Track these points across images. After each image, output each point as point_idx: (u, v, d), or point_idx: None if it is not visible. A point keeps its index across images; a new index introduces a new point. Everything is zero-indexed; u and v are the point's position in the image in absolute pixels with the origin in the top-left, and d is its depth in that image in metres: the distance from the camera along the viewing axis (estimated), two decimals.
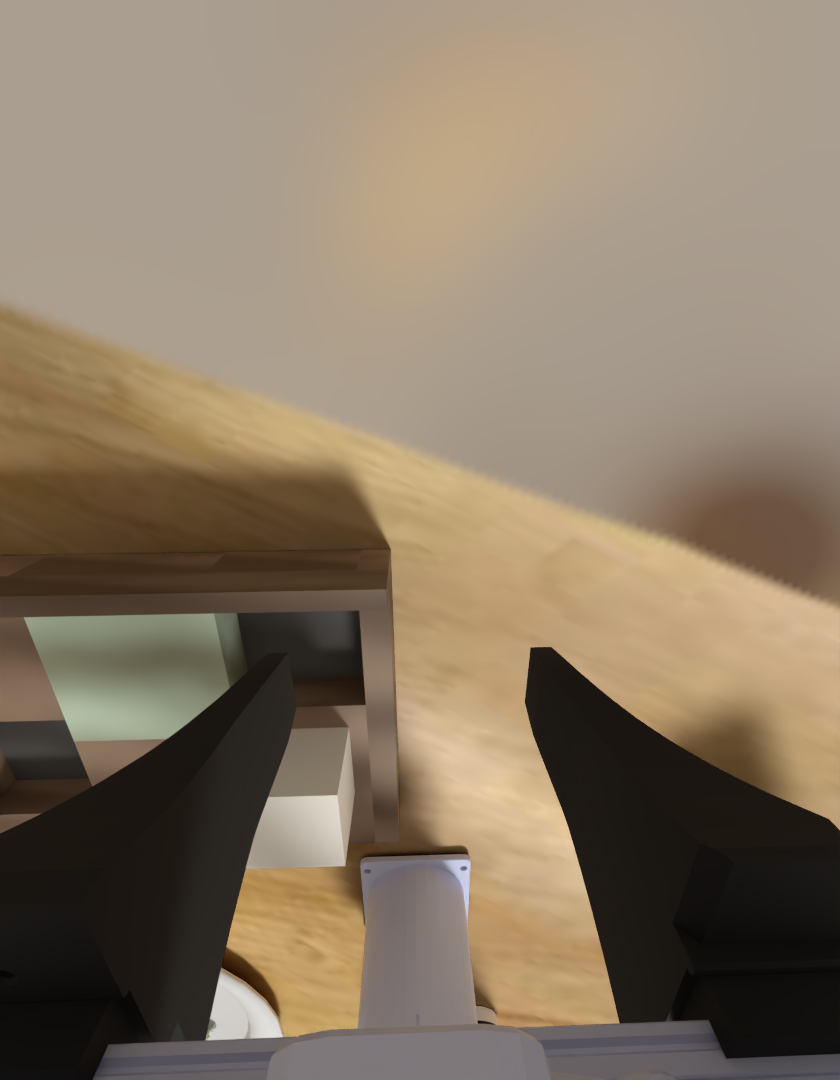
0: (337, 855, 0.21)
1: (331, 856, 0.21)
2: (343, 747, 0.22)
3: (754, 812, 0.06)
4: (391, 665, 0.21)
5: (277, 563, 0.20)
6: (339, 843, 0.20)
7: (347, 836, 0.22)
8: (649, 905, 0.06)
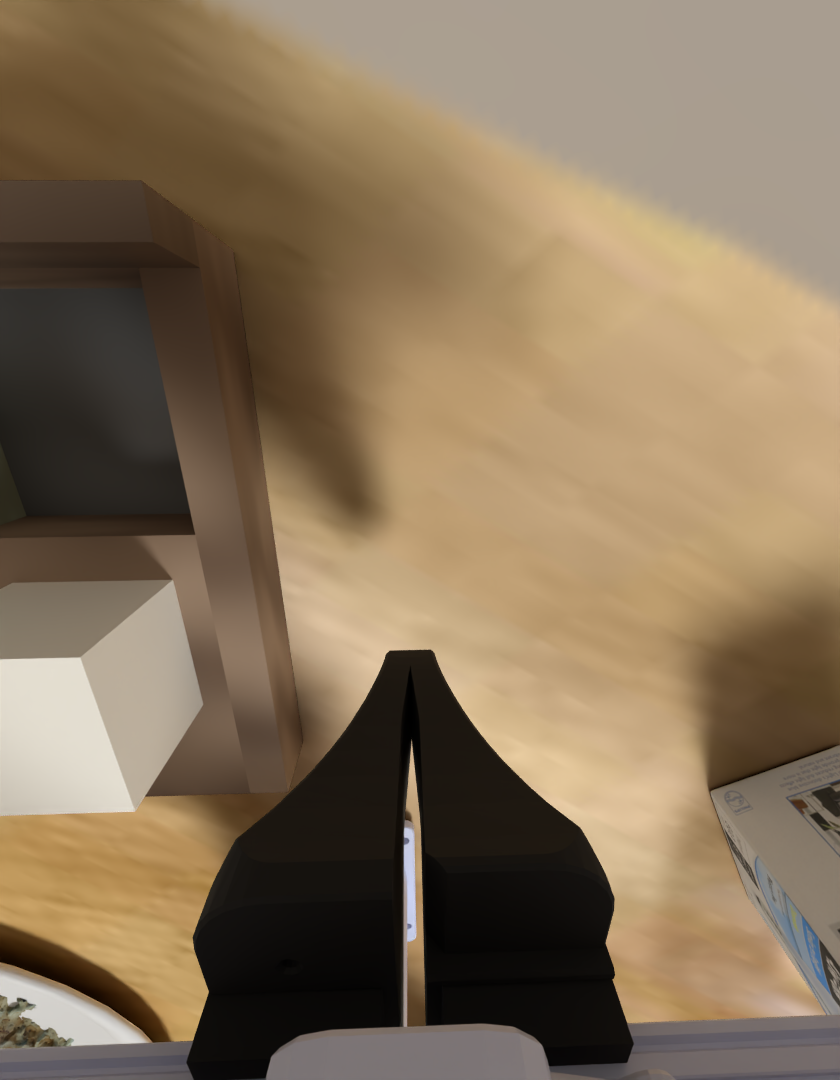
0: (114, 789, 0.11)
1: (103, 791, 0.11)
2: (144, 600, 0.12)
3: (512, 818, 0.06)
4: (230, 451, 0.12)
5: None
6: (111, 764, 0.11)
7: (153, 762, 0.12)
8: None
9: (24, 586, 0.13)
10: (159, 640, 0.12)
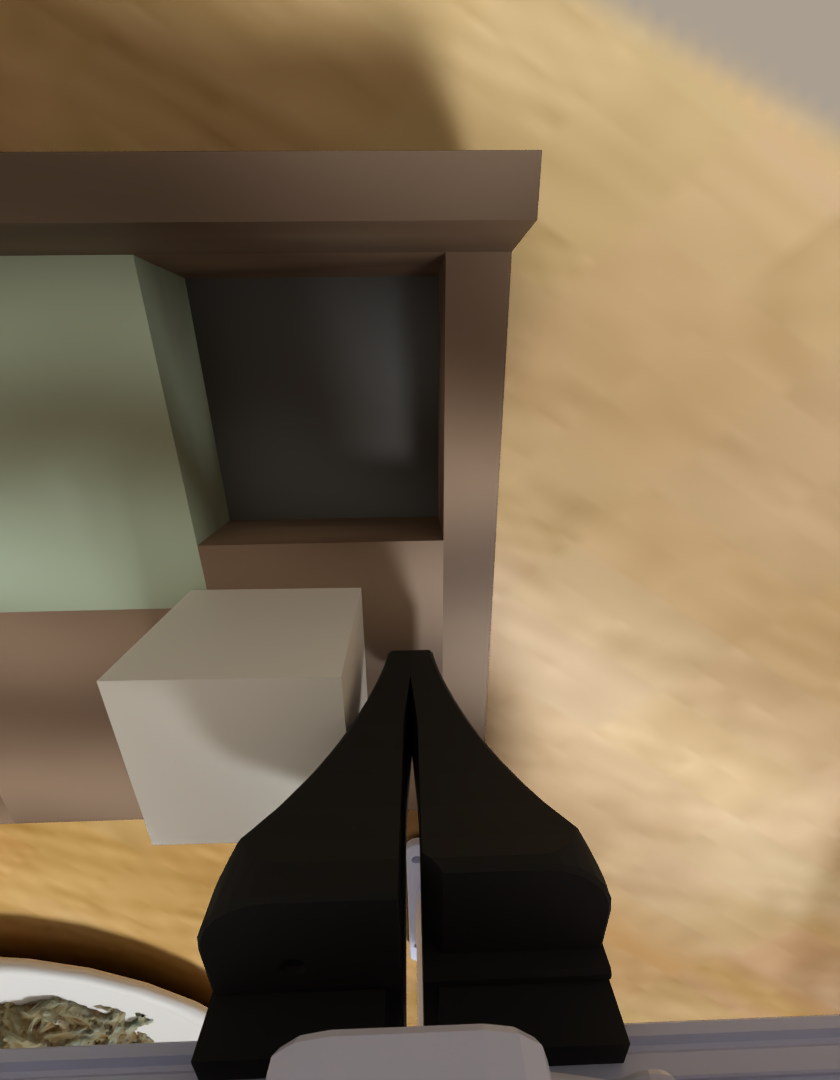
0: None
1: None
2: (351, 611, 0.11)
3: (509, 818, 0.06)
4: (498, 451, 0.11)
5: None
6: None
7: None
8: None
9: (207, 594, 0.12)
10: (358, 653, 0.12)
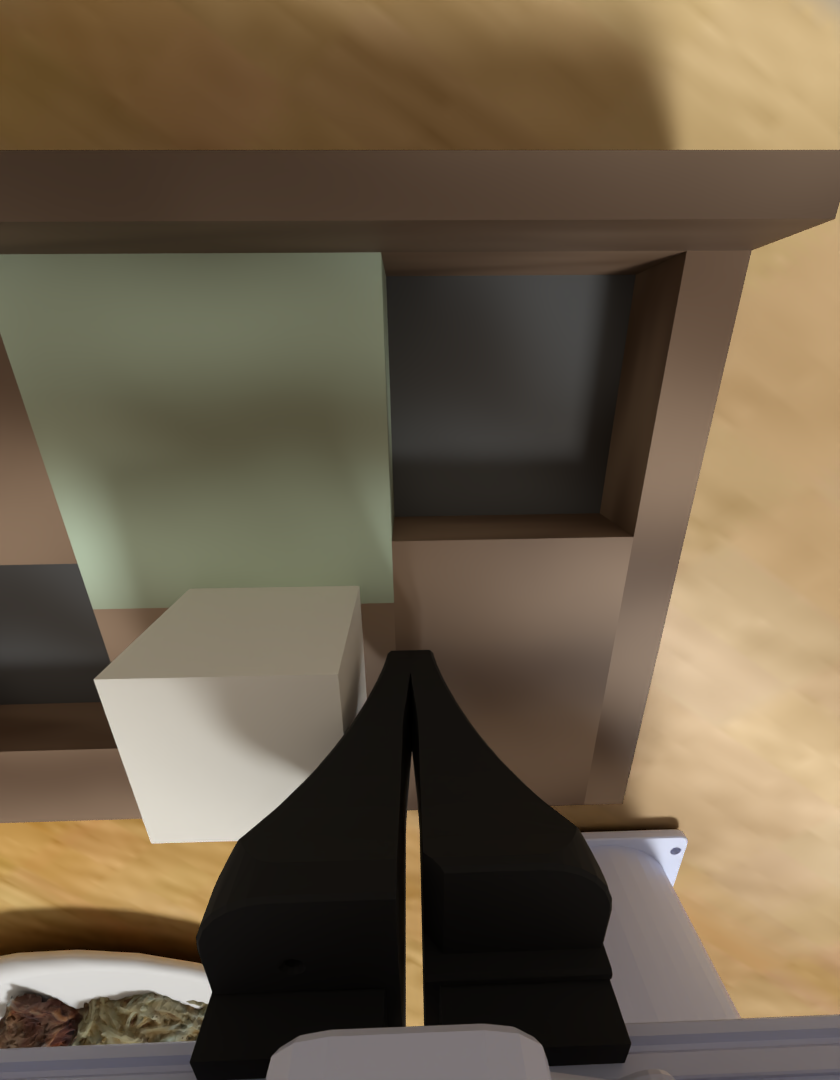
0: None
1: None
2: (349, 609, 0.11)
3: (510, 818, 0.06)
4: (701, 448, 0.11)
5: None
6: None
7: None
8: None
9: (205, 592, 0.12)
10: (356, 651, 0.12)
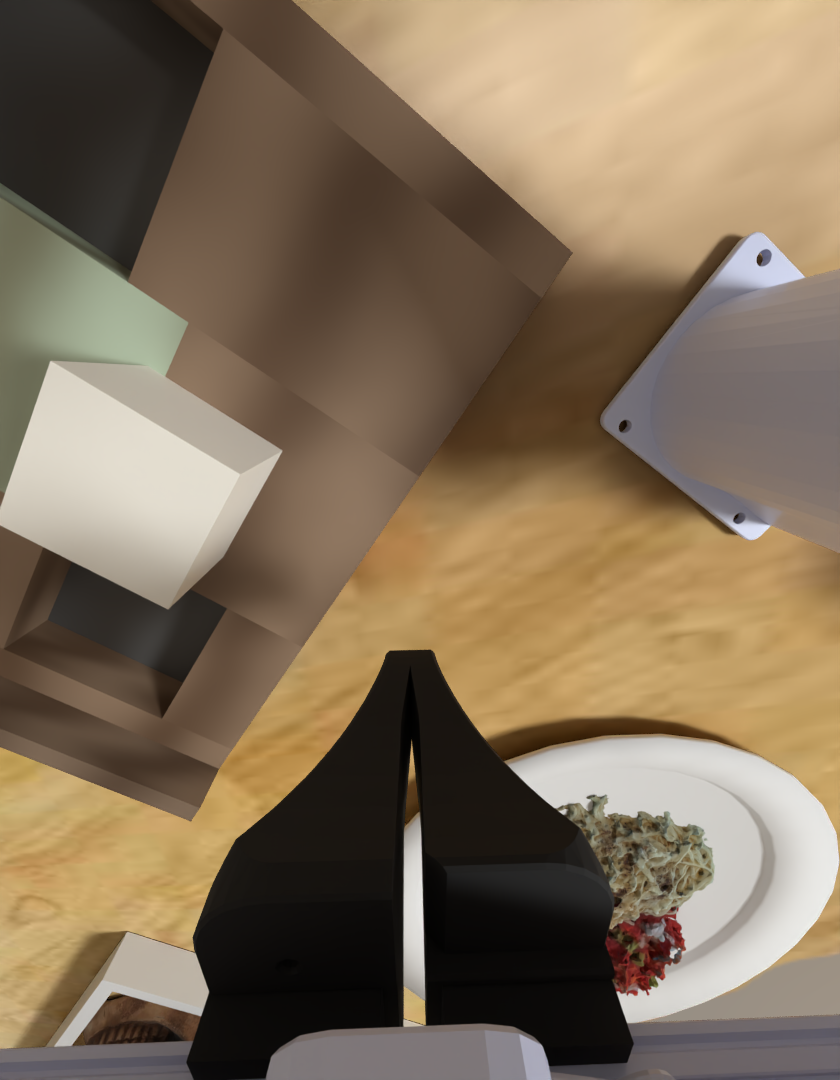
0: (205, 467, 0.11)
1: (203, 478, 0.11)
2: (119, 367, 0.13)
3: (512, 818, 0.06)
4: None
5: None
6: (176, 443, 0.11)
7: (238, 456, 0.12)
8: None
9: None
10: (165, 391, 0.13)
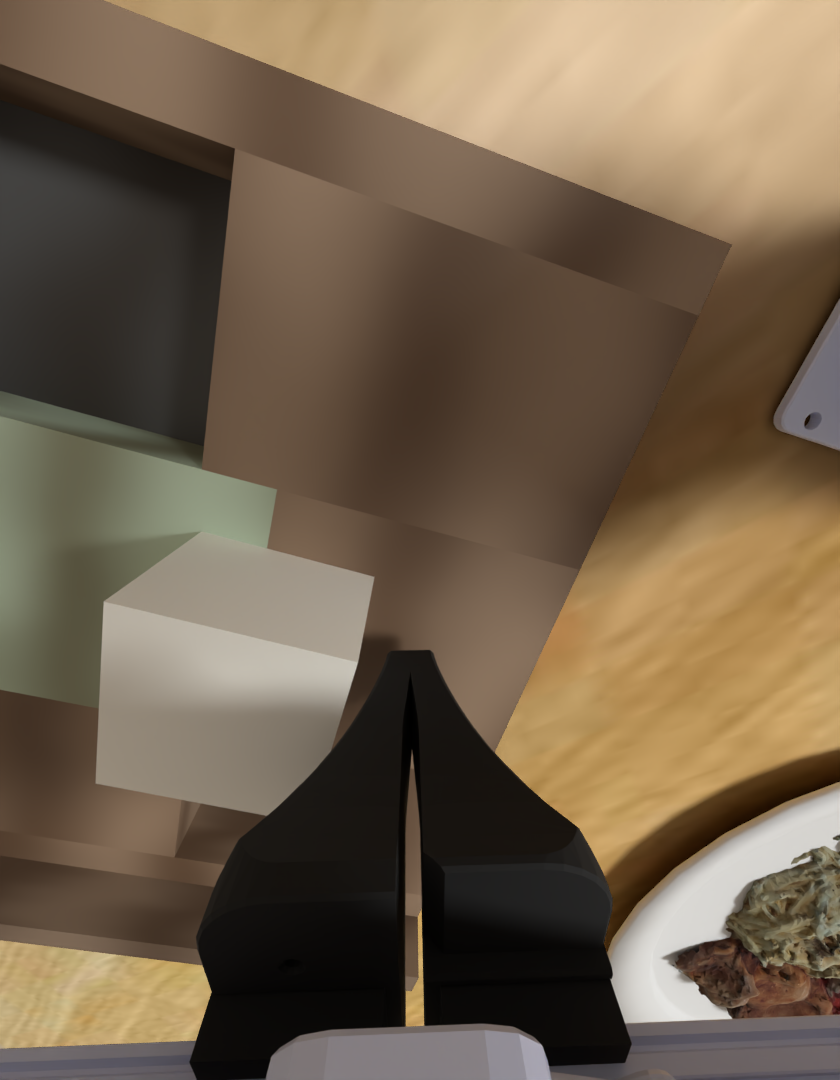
0: (314, 666, 0.09)
1: (314, 677, 0.09)
2: (176, 552, 0.10)
3: (511, 818, 0.06)
4: (113, 9, 0.08)
5: None
6: (273, 650, 0.08)
7: (341, 626, 0.10)
8: (423, 913, 0.06)
9: None
10: (232, 563, 0.11)
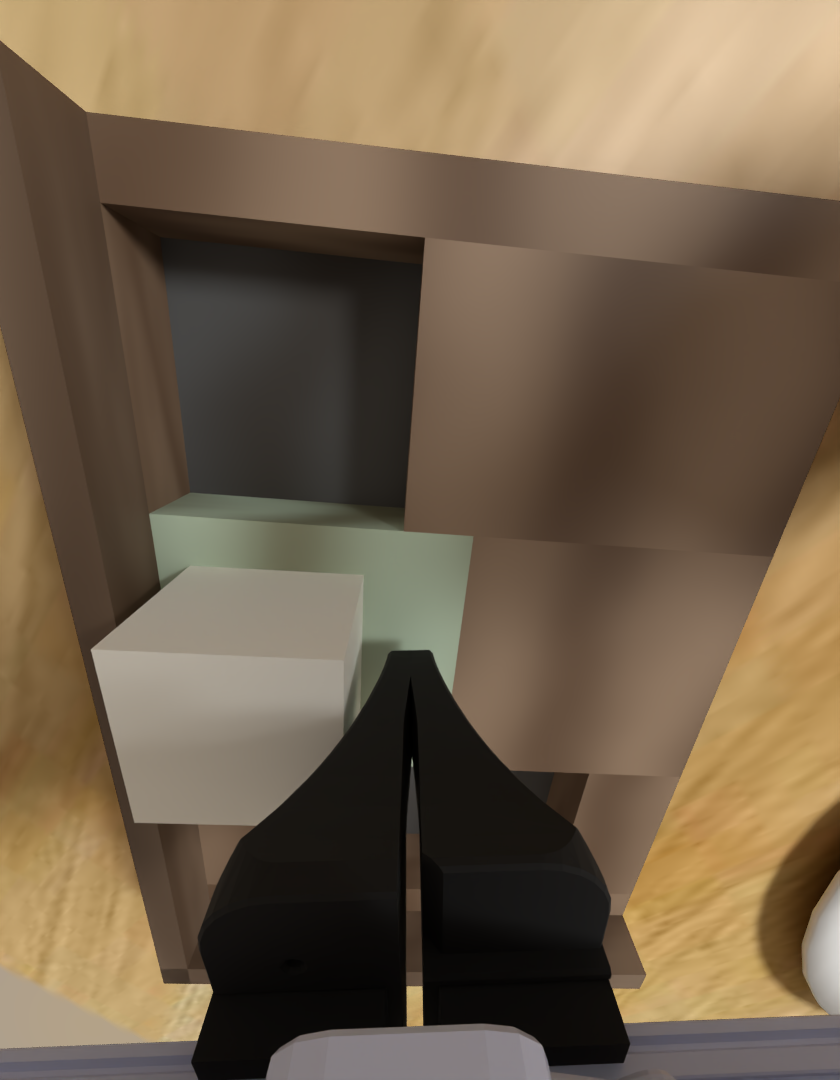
0: (302, 672, 0.09)
1: (306, 683, 0.09)
2: (164, 590, 0.11)
3: (510, 819, 0.06)
4: (312, 143, 0.09)
5: None
6: (259, 664, 0.08)
7: (327, 629, 0.10)
8: None
9: None
10: (218, 589, 0.11)
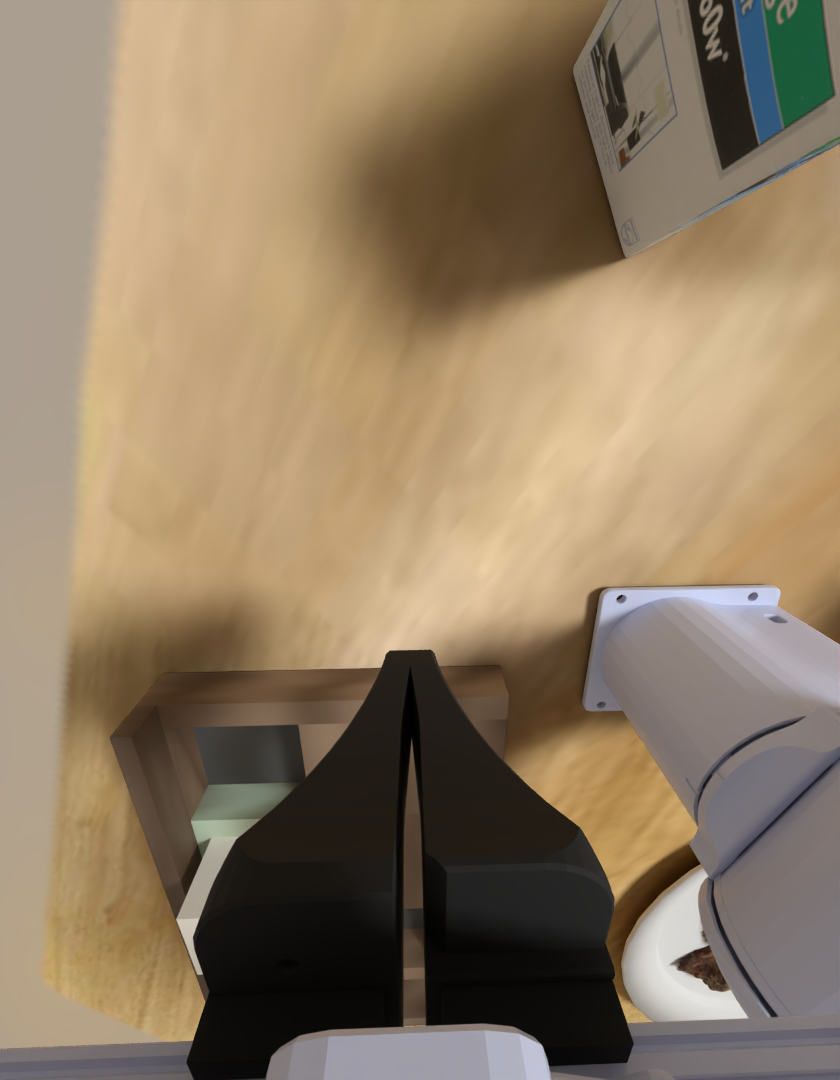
0: None
1: None
2: (201, 863, 0.23)
3: (512, 818, 0.06)
4: (246, 702, 0.21)
5: None
6: None
7: None
8: None
9: None
10: None
